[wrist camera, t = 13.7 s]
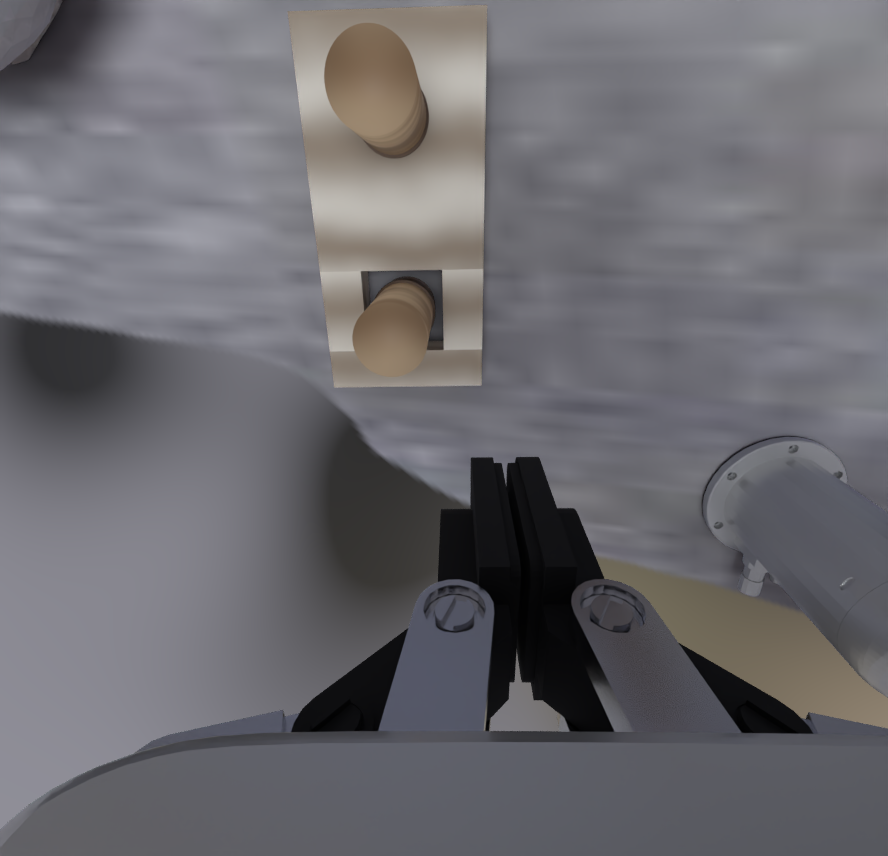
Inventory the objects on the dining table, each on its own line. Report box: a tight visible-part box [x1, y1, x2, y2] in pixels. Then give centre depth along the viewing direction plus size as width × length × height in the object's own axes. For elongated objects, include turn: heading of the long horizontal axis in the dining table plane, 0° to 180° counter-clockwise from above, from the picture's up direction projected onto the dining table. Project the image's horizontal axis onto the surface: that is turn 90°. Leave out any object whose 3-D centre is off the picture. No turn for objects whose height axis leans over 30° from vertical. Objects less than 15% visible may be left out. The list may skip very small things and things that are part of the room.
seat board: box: [288, 5, 487, 387], centre depth 30 cm, size 24×12×12 cm, turn 1°
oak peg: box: [352, 276, 435, 377], centre depth 33 cm, size 5×5×12 cm
